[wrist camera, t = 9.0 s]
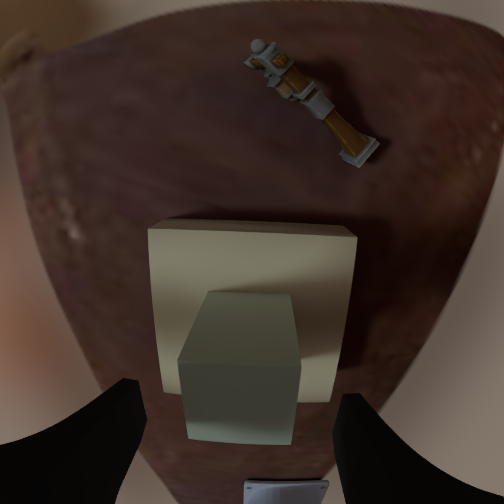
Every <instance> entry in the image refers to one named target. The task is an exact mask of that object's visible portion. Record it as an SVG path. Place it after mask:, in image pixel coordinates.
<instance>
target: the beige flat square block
mask: <svg viewBox="0 0 504 504" xmlns="http://www.w3.org/2000/svg"><path fill="white" fill-rule="evenodd" d="M148 243H149V262H150V277H151V290H152V302H153V312H154V322H155V331H156V340H157V348H158V355H159V363H160V370H161V377H162V383H163V390H164V392H167V393H174V394H181V387H180V380H179V372H178V364H177V359H178V357H179V354H180V352H181V350H182V348H183V345H184V343H185V341H186V339H187V336H188V334H189V332H190V330H191V328H192V325H193V323H194V321H195V319H196V317H197V314H198V312H199V310H200V308H201V306H202V303H203V301H204V299H205V297H206V295H207V292H208V291H217V292H241V293H271V294H290V296H291V302H292V308H293V314H294V320H295V326H296V333H297V339H298V345H299V351H300V358H301V364H302V369H301V377H300V384H299V392H298V399H297V402H329V401H330V397H331V393H332V389H333V384H334V380H335V375H336V370H337V366H338V361H339V356H340V351H341V345H342V340H343V335H344V329H345V323H346V318H347V312H348V305H349V299H350V292H351V285H352V278H353V271H354V263H355V255H356V247H357V237H356V236H355V235H354V234H353V233H351V232H350V231H349V230H348V229H347V228H345V227H344V226H340V225H323V224H304V223H285V222H263V221H238V220H208V219H170V218H166V219H164V220H163V221H161V222H159V223H157V224H155V225H154V226H152V227H150V228H148Z"/></svg>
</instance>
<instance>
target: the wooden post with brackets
mask: <svg viewBox="0 0 504 504" xmlns="http://www.w3.org/2000/svg"><path fill="white" fill-rule="evenodd" d="M251 49H252V51H253V52H255V53H253V54H252V55H250V56H249V57H248V58H247V59H246V60H245V61H244V62H243V64H244V65H246V66H247V67H248V68H249V69H253V70H260V71H265V75H264V77H268V79H270V80H269V83H268V85H267V87H274V89H275V90H276V91H277V92H278V93H279V94H280V95H281V96H282V98H285V99H290V100H291V101H297V100H298V99H301V100H300V101H299V103H301V104H302V105H304V106H305V107H306V108H307V109H308V110H309V111H310V112H311V113H312V115H313V117H315V118H318V119H320V120H321V121H322V122H323V123H324V124H325V125H326V127H327V128H328V129H329V130H330V132H331V133H332V134H333V136H334V137H335V138H336V140H337V141H338V142H339V144H340V146H341V147H342V149H343V150H342V151H341V152H340V153H339V155H340V156H341V157H342V159H343V160H345V161H347V162H349V163H351V164H353V165H355V166H356V167H358V168H360V167H361V165H362V164H363V163H364V162H365V161H366V159H367V158H368V157H369V156H370V155H371V154H372V152H373V151H374V150H375V149H376V148H377V147H378V145H379V144H380V143H378V142H377V141H376V139H375V138H372V137H369V136H366V135H364V134H361V133H359V132H357V131H356V130H355V129H354V128H353V127H352V126H351V125H350V124H349V123H348V122H346V121H345V120H344V119H343V118H342V117H341V116H340V115H339V114H338V113H337V112H336V111H335V110H334V109H333V108H334V107H335V105H333V104H332V103H331V102H330V101H329V100H328V99H327V98H326V97H325V95H324V94H323V93H322V91H321V89H315V87H316V86H317V85H316V84H314V82H313V81H308V80H307V79H306V78H305V77H304V76H303V75H302V74H301V73H300V72H299V71H298V70H297V69H296V68H295V67H294V66H293V65H292V64H293V63H294V61H293V60H292V59H290V58H289V57H288V56H287V55H286V54H285V53H284V52H283V51H282V50H281V49H280V48H279V47H278V46H277V44H276V43H275V42H272V43H266V42H265V41H264V40H262V39H256V40H254V41H253V42H252V43H251ZM260 68H263V70H261V69H260Z"/></svg>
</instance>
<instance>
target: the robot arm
mask: <svg viewBox="0 0 504 504" xmlns="http://www.w3.org/2000/svg"><path fill="white" fill-rule="evenodd" d="M146 422H147V417H146V413H145V409H144V404H143V400H142V395H141V391H140V386H139V381H138V380H132V379H126V378H123V379H121V380H120V381H118V382H117V383H116V384H114V385H113V386H112V387H110V388H109V389H108V390H106V391H105V392H104V393H102V394H101V395H100V396H98V397H97V398H96V399H94V400H93V401H91V402H90V403H89V404H87V405H86V406H84V407H83V408H81V409H80V410H78V411H77V412H75V413H73V414H72V415H70V416H69V417H67V418H66V419H64V420H62V421H61V422H59V423H57V424H55V425H53V426H51V427H49V428H47V429H45V430H43V431H41V432H38V433H36V434H33V435H31V436H28V437H25V438H23V439H20V440H17V441H14V442H10V443H6V444H2V445H0V504H115V501H116V498H117V495H118V492H119V489H120V487H121V484H122V482H123V480H124V478H125V475H126V473H127V471H128V469H129V467H130V464H131V462H132V460H133V458H134V456H135V453H136V451H137V449H138V447H139V444H140V442H141V439H142V436H143V432H144V429H145V425H146ZM332 433H333V443H334V453H335V459H336V463H337V467H338V472H339V476H340V480H341V484H342V488H343V493H344V497H345V502H346V504H504V497H503V496H500V495H496V494H493V493H490V492H487V491H484V490H481V489H478V488H476V487H473V486H471V485H469V484H466V483H464V482H462V481H460V480H458V479H456V478H454V477H452V476H451V475H449V474H447V473H446V472H444V471H442V470H440V469H439V468H437V467H436V466H434V465H433V464H431V463H430V462H429V461H427V460H426V459H425V458H423V457H422V456H420V455H419V454H418V453H417V452H416V451H414V450H413V449H412V448H411V447H410V446H409V445H407V444H406V443H405V442H404V441H403V440H402V439H401V438H400V437H399V436H398V435H397V434H396V433H395V432H394V431H393V430H392V429H391V428H390V427H389V426H388V425H387V424H386V423H385V422H384V420H383V419H382V418H381V417H380V416H379V415H378V414H377V413H376V411H375V410H374V409H373V408H372V407H371V406H370V405H369V403H368V402H367V401H366V400H365V399H364V398H363V396H362V395H361V394H360V393H352V394H343V396H342V400H341V404H340V407H339V411H338V415H337V418H336V422H335V425H334V429H333V432H332ZM328 486H329V481H328V480H314V481H254V480H248V481H245V483H244V504H321V502H322V500H323V497H324V495H325V493H326V490H327V488H328Z"/></svg>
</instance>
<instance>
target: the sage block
mask: <svg viewBox="0 0 504 504" xmlns="http://www.w3.org/2000/svg"><path fill="white" fill-rule="evenodd" d="M177 364H178V372H179V380H180V387H181V394H182V401H183V408H184V414H185V420H186V426H187V432H188V438H189V439H197V440H206V441H216V442H228V443H243V444H271V445H291V439H292V433H293V427H294V420H295V413H296V406H297V399H298V392H299V384H300V377H301V369H302V364H301V358H300V351H299V345H298V339H297V333H296V326H295V320H294V314H293V308H292V302H291V296H290V294H271V293H241V292H217V291H208V292H207V295H206V297H205V299H204V301H203V303H202V306H201V308H200V310H199V312H198V314H197V317H196V319H195V321H194V323H193V325H192V328H191V330H190V332H189V334H188V336H187V339H186V341H185V343H184V345H183V348H182V350H181V352H180V354H179V357H178V359H177Z"/></svg>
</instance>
